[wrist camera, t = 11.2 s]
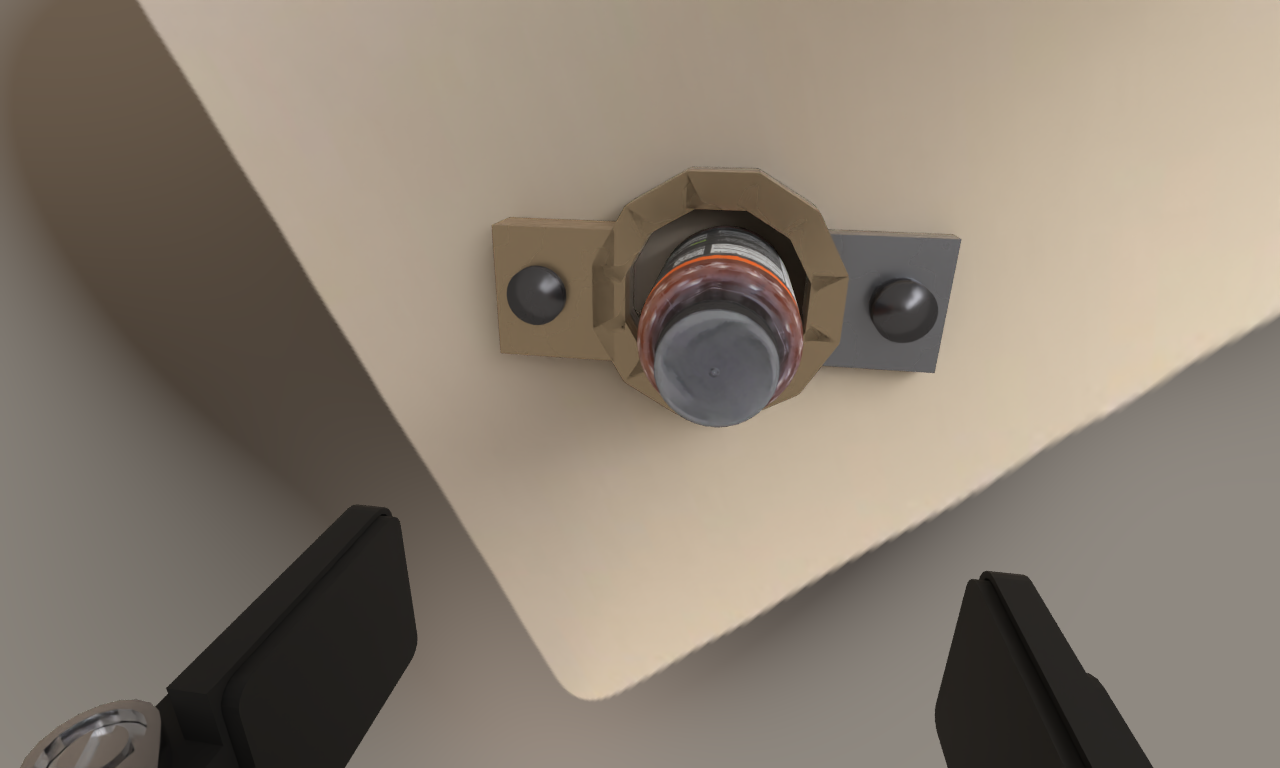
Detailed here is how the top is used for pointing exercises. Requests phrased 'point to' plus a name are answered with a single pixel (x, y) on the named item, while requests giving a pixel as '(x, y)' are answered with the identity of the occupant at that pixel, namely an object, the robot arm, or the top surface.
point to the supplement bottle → (721, 328)
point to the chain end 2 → (885, 296)
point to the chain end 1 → (605, 251)
